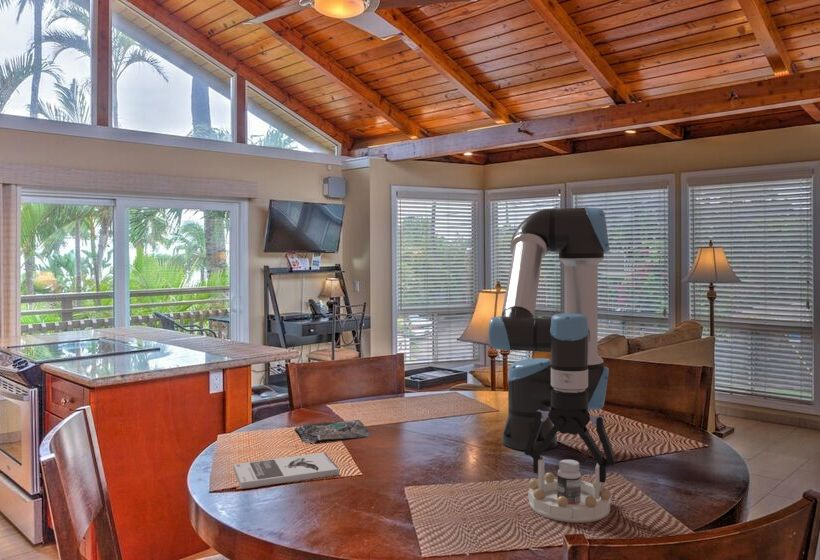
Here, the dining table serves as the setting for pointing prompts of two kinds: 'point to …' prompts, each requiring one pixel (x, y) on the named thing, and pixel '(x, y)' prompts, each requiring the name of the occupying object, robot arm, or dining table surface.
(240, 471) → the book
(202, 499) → the dining table surface
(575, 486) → the pill bottle
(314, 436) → the terrain model
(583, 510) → the tray
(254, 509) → the dining table surface
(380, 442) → the dining table surface
